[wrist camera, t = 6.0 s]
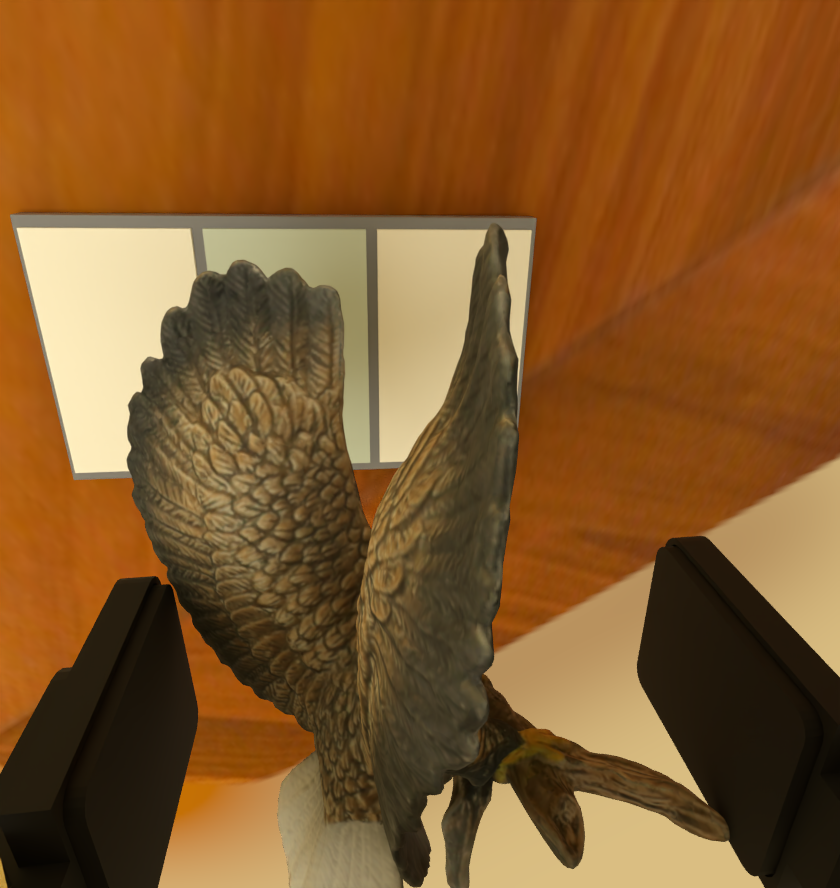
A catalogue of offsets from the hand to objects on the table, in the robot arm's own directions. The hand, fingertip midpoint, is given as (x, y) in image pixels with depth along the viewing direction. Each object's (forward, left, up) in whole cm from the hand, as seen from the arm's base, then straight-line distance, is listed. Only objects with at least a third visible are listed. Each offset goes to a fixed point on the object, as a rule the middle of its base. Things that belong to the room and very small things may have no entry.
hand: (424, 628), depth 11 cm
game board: (+3, 0, -16) cm, 16 cm away
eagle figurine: (+1, -2, -2) cm, 2 cm away
